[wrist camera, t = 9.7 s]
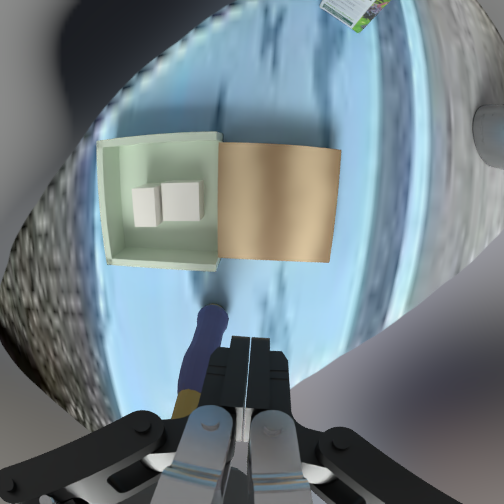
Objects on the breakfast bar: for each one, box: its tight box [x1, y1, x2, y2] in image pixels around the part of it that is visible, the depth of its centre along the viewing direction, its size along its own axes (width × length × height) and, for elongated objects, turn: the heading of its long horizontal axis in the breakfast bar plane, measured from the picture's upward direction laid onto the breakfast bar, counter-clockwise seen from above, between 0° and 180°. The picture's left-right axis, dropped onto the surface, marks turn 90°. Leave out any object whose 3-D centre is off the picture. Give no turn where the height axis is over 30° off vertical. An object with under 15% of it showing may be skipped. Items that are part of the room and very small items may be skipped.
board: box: [218, 142, 341, 263], centre depth 29 cm, size 12×12×3 cm
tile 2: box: [132, 183, 163, 227], centre depth 28 cm, size 4×4×2 cm
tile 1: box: [161, 180, 204, 221], centre depth 29 cm, size 4×4×2 cm
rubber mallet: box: [117, 304, 248, 504], centre depth 22 cm, size 12×8×30 cm, turn 124°
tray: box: [97, 132, 223, 272], centre depth 28 cm, size 13×14×4 cm
